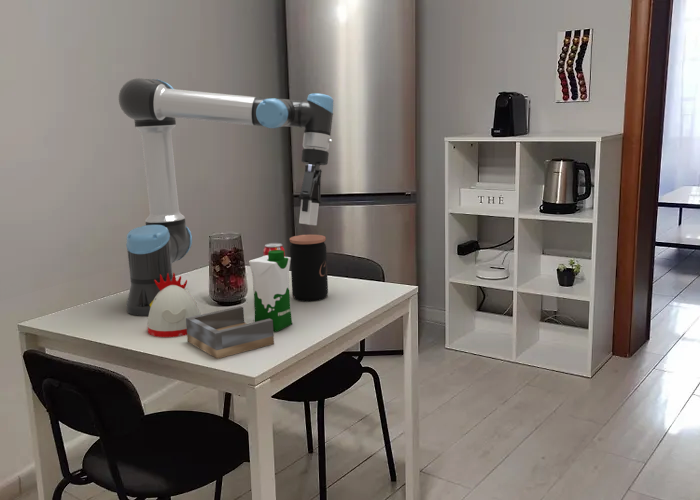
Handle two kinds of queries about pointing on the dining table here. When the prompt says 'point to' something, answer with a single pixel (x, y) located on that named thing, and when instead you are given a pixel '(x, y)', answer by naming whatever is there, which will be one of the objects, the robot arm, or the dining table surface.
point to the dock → (228, 332)
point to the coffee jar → (309, 267)
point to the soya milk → (272, 288)
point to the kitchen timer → (171, 309)
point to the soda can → (272, 248)
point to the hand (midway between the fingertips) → (308, 224)
